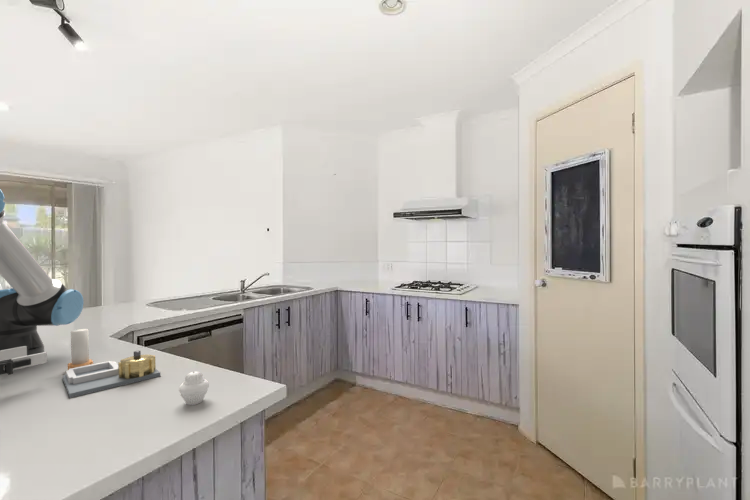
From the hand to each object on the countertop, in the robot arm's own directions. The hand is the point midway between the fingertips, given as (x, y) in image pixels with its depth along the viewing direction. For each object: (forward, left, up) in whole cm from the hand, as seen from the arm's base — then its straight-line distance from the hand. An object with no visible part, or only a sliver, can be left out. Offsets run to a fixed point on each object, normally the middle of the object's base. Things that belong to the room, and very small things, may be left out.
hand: (36, 353), depth 96 cm
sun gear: (+18, +20, -7) cm, 28 cm away
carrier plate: (+13, +15, -7) cm, 21 cm away
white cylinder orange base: (-3, +10, -7) cm, 12 cm away
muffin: (+47, +25, -7) cm, 54 cm away
